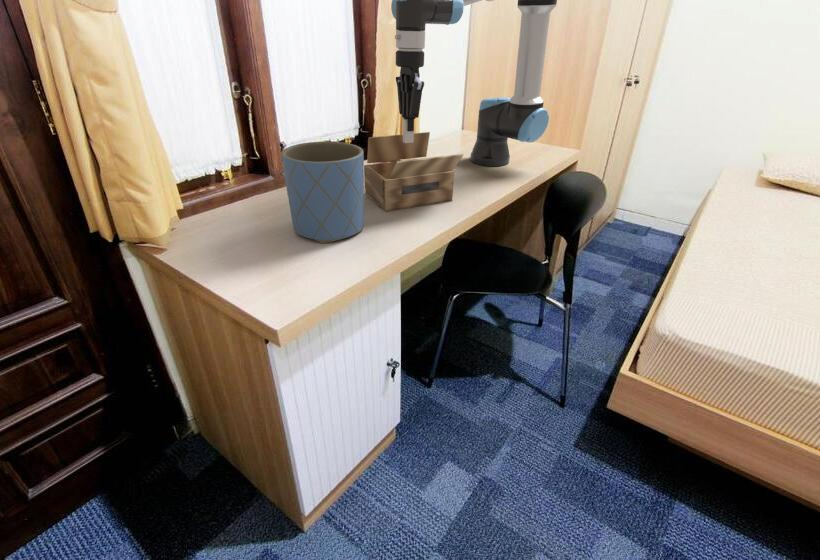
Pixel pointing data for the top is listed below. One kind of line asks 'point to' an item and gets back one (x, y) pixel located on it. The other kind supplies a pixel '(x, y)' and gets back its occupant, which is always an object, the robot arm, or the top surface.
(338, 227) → the planter
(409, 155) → the far flap
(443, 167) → the near flap
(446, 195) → the carton
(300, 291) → the top surface
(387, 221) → the top surface
